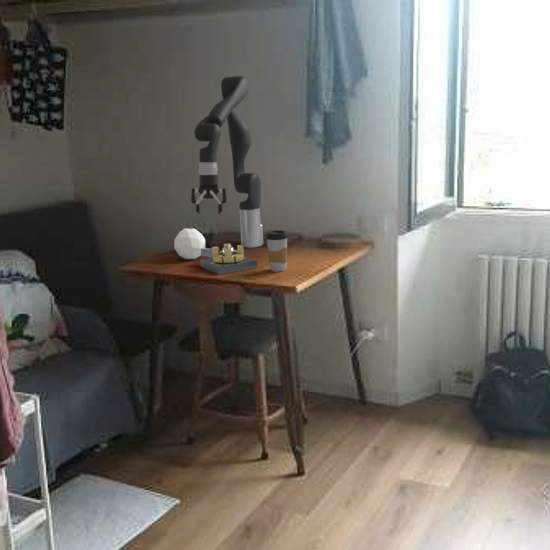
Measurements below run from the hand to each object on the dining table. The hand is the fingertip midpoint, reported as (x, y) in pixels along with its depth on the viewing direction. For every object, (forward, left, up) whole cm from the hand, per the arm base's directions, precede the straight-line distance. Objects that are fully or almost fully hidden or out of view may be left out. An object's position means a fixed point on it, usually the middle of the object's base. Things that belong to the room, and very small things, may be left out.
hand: (209, 213), depth 298 cm
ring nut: (0, +9, -17) cm, 20 cm away
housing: (-1, +13, -21) cm, 24 cm away
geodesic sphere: (+4, -13, -21) cm, 25 cm away
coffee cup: (-14, +30, -21) cm, 39 cm away
